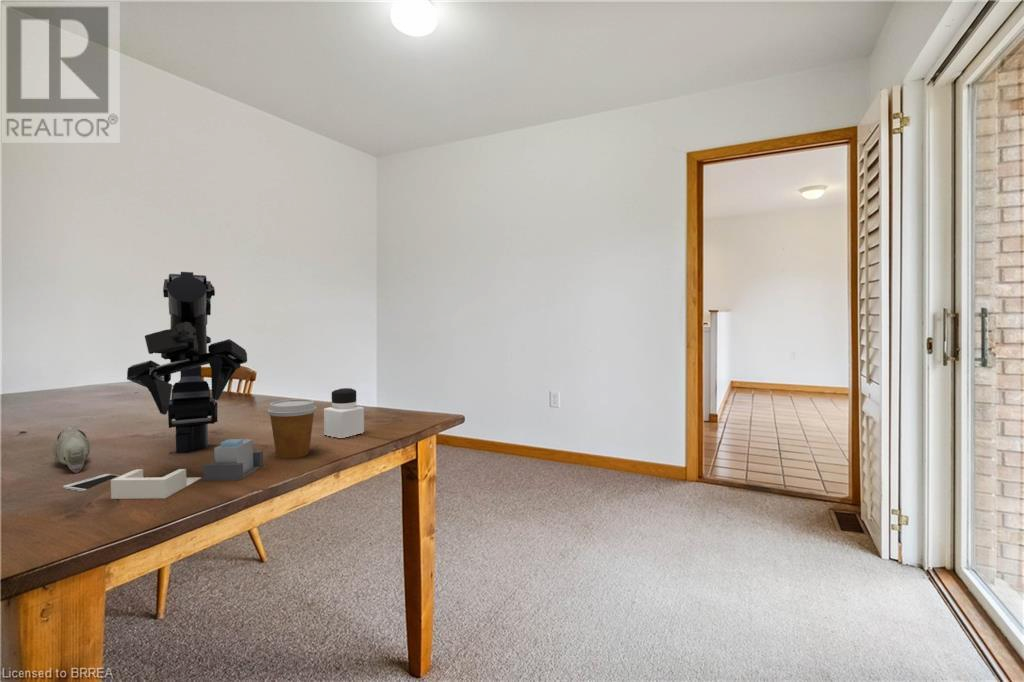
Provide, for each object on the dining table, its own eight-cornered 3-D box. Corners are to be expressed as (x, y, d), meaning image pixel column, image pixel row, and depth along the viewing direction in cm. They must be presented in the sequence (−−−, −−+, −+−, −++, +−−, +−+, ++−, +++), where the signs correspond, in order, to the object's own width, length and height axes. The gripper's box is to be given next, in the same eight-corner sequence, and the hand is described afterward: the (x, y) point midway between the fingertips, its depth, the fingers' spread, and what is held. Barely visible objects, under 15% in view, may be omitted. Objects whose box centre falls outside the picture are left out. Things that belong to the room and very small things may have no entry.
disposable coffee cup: (326, 453, 106) (325, 400, 105) (295, 466, 97) (295, 407, 96) (290, 450, 109) (289, 397, 108) (257, 462, 99) (256, 405, 99)
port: (154, 482, 87) (154, 461, 87) (202, 481, 87) (201, 461, 87) (111, 503, 77) (110, 480, 77) (165, 502, 77) (164, 479, 77)
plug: (232, 467, 93) (231, 435, 93) (253, 467, 94) (252, 435, 93) (214, 477, 87) (214, 444, 87) (237, 477, 88) (236, 443, 87)
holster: (230, 468, 95) (230, 450, 95) (263, 468, 95) (263, 450, 95) (203, 484, 86) (202, 464, 86) (239, 484, 86) (239, 464, 86)
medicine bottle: (364, 434, 124) (364, 388, 123) (341, 439, 118) (341, 391, 117) (346, 430, 128) (346, 386, 127) (323, 435, 122) (323, 389, 121)
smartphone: (125, 501, 79) (125, 495, 79) (61, 490, 83) (61, 485, 83) (167, 487, 86) (167, 481, 86) (106, 478, 90) (106, 473, 90)
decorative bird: (57, 477, 89) (55, 438, 89) (52, 459, 100) (50, 424, 100) (95, 471, 93) (94, 433, 93) (86, 454, 104) (85, 421, 104)
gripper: (104, 325, 83) (98, 409, 77) (211, 297, 84) (214, 377, 78) (151, 350, 93) (149, 425, 87) (246, 324, 94) (251, 397, 88)
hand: (189, 406), depth 85 cm, fingers open, 9 cm apart
